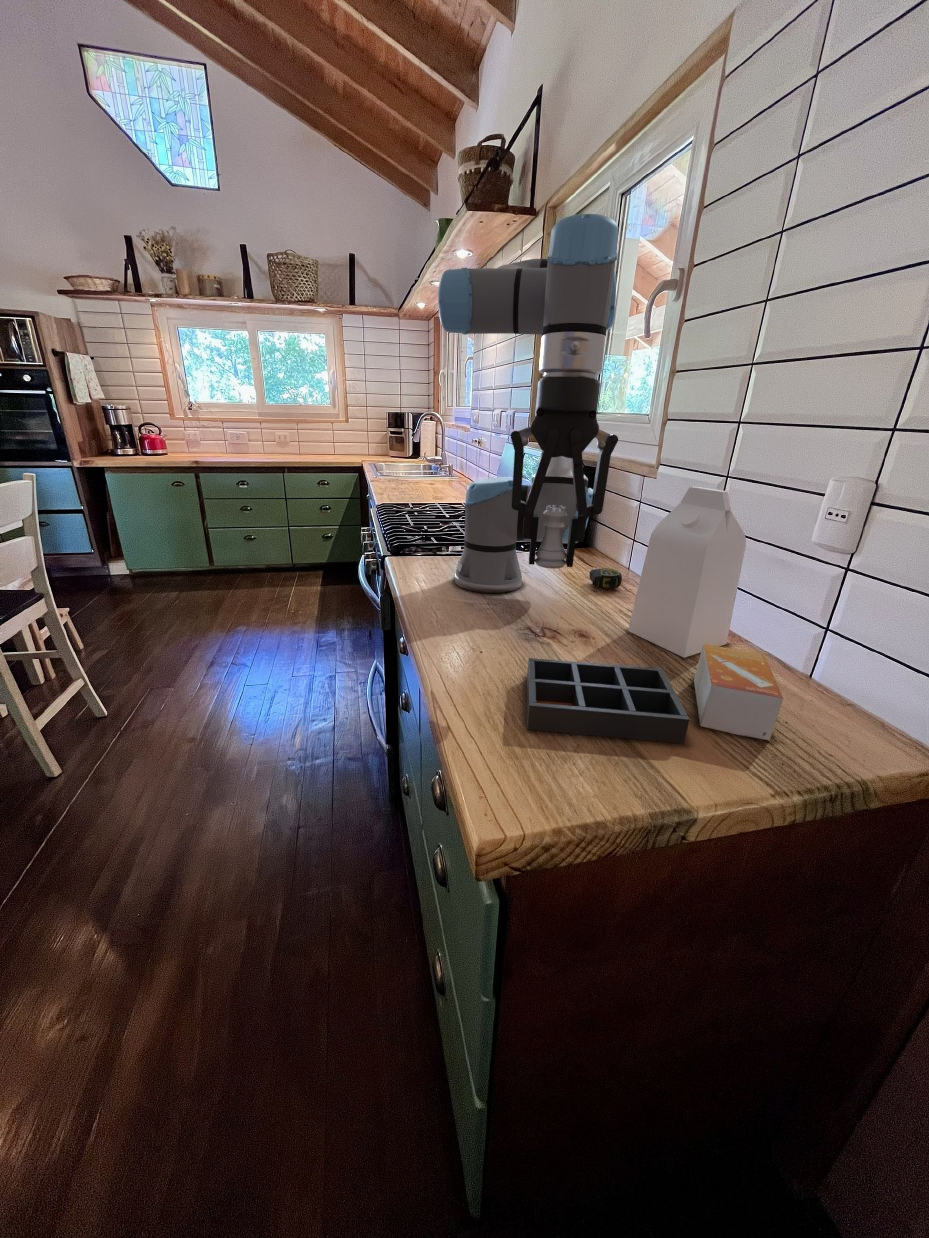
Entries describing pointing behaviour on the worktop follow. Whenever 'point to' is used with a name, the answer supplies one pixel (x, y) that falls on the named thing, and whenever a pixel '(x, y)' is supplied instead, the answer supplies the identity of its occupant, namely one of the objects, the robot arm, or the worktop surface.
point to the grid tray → (604, 701)
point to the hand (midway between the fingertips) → (550, 562)
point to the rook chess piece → (552, 539)
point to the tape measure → (605, 578)
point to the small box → (736, 692)
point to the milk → (690, 575)
